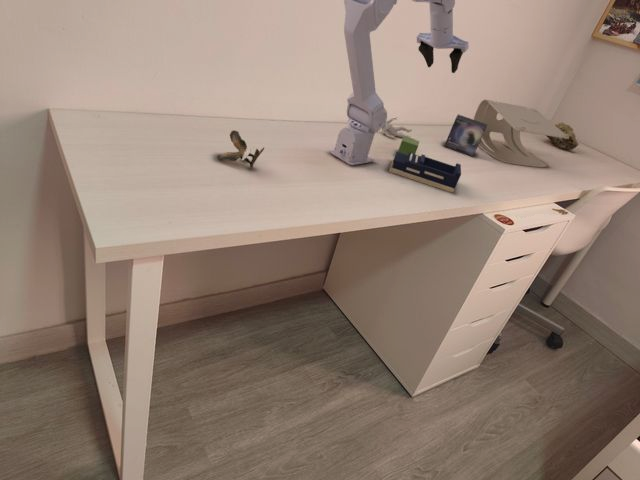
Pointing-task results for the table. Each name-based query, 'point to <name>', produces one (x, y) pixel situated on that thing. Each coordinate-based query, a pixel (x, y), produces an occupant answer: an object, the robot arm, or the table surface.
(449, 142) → the small box
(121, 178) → the table surface
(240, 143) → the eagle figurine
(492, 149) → the laptop stand
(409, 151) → the green cube
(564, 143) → the mineral specimen
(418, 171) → the navy slotted organizer
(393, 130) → the soldier figure
